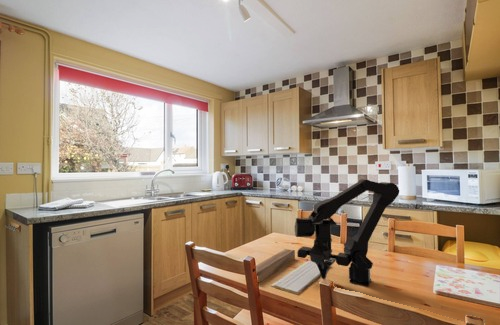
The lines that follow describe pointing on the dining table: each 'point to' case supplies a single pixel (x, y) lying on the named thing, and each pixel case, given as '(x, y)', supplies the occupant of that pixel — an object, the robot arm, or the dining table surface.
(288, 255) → the walnut plank
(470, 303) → the dining table surface
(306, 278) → the baseboard molding
